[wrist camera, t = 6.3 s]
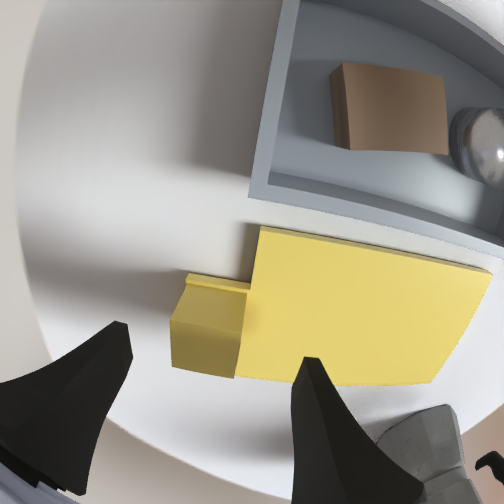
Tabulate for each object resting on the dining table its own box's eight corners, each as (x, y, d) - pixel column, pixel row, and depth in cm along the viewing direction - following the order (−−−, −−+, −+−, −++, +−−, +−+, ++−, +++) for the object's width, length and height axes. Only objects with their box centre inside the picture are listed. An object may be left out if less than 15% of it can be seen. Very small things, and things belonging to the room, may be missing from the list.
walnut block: (416, 83, 9) (442, 77, 7) (420, 149, 10) (448, 154, 8) (328, 75, 9) (342, 62, 7) (335, 146, 10) (350, 150, 8)
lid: (483, 266, 13) (519, 299, 9) (425, 372, 16) (442, 411, 13) (195, 212, 13) (166, 245, 9) (188, 354, 16) (173, 402, 13)
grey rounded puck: (500, 125, 9) (527, 129, 7) (488, 188, 10) (515, 200, 8) (453, 95, 9) (482, 93, 6) (441, 166, 10) (469, 175, 8)
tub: (519, 99, 8) (559, 103, 5) (491, 240, 12) (527, 267, 8) (287, -9, 8) (292, -50, 5) (254, 178, 11) (247, 197, 8)
